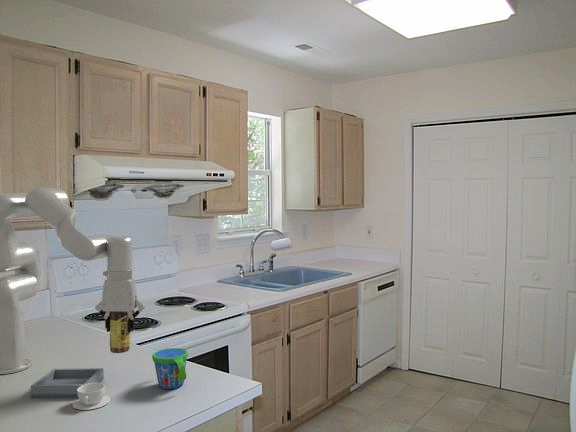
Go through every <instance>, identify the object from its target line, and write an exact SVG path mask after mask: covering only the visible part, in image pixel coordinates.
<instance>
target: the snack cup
mask: <svg viewBox="0 0 576 432" xmlns="http://www.w3.org/2000/svg"><path fill="white" fill-rule="evenodd" d="M188 357H189V352H188V350H187V349H184V348H182V347H181V348H179V347H170V348H169V347H168V348H163V349H160V350H157V351H155V352H154V353H152V355H151V360H152V362H154V363H153V364H154V368H155V375H156V379H157V383H158V387H159V388H161V389H163V390H174V389H178V388H180V387H182V386H183V385H184V382H185V380H186V378H187V371H186V367H187V366H186V365H187V359H188Z"/></svg>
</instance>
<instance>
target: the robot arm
mask: <svg viewBox="0 0 576 432" xmlns="http://www.w3.org/2000/svg"><path fill="white" fill-rule="evenodd" d="M69 201H70V200H69V197H68V194H67V193H66V192H65V190H63V189H62V188H58V187H36V188H33V189H30V191H28V192H2V193H0V273H7V272H14V274H9V275H4V276H0V375H9V374H14V373H18V372H21V371H24V370H26V369H28V368H30V367H31V366H32V361H31V360H30V359H27V358H26V357H27V356H26V355H27V353H26V331H25V328H26V326H25V314H24V311H23V309H22V307H21V305H20V304H19V302H21V301H25V300H29V299H31V298H33V297H35V296H36V295H37V294H38V293H39V291H40V286H41V281H40V270H39V258H38V254H37V251H36V249H35V248H34V246H33V245H32V244H30V243H28V242H26V241H17V235H16V234H17V232H16V229H15V227H14V225H13V223H12V222H11V221H10V220H9V219H13V218H14V219H16V218H30V217H31V218H32V217H39V218H40V219H41V220H42V221H44V222H45V223H46V224H48V225H49V226H50V227H51V228H52V229H54V230H55V232H56V236H57V239H58V241H59V243H60V244H61V246H62V248H64V249H65V250H67V252H69V253H70V254H71V255H72V256H74V257H76V258H77V259H79V260H81V261H84V262H86V261H87V262H89V261H95V260H98V259H104V258H106V260H107V263H106V265H107V269H106V271H105V270H103V272H102V276H103V277H104V276H105V277H106V279H104V282H103V287H102V293H101V294H102V297H101V301H100V302H99V303H97V304H96V305H95V306H94V309H95V310H96V311H97V312H98V313H99V314H100V315H101V316H102V317H103V319H104V323H105V326H104V327H105V329H106V332H107V333H110V312H127V313H128V315H129V320H128V332H130V333H132V331H134V330H135V327H136V321H135V320H136V317H138V315H139V314H140V313H141V312H142V311H144V310H145V309H146V307H145V305H144V304H143V303H142V302H141V301H140V300H139V299H138V293H137V286H136V281H135V278H133V240H132V238H131V237H130V236H123V235H122V236H120V235H119V236H118V235H117V236H113V235H110V234H97V235H96V234H94V235H89V236H86V234H84V233H83V232H81V231H80V230H79V229H77V227H76V226H75V225H74V224H75V223H76V221H77V218H78V213H77V212H76V210H75V209H74V208H72V207H71V206H70V205H69V203H70V202H69ZM136 308H137V310H136V311H135V309H136Z"/></svg>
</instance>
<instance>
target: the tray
mask: <svg viewBox="0 0 576 432" xmlns="http://www.w3.org/2000/svg"><path fill="white" fill-rule="evenodd" d="M104 373H105V372H104V368H103V367H94V368H89V367H87V368H86V367H85V368H84V367H83V368H79V367H78V368H52V369H51V370H50V371H49V372H46V374H45V375H43V376H42V377H40V378H39V379H38V380H36V381H35V382H33V384H31V385H30V397H31V398H33V399H39V398H40V399H42V398H43V399H46V398H47V399H48V398H78V393H77V389H78V388H79V387H80V386H82V385H85V384H88V383H102V381H104V379H105V378H104V377H105V376H104Z"/></svg>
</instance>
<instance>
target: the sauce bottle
mask: <svg viewBox="0 0 576 432" xmlns="http://www.w3.org/2000/svg"><path fill="white" fill-rule="evenodd" d="M128 320H129V315H128V313H127V312H110V331H109V350H110V353H113V354H124V353H127V352H129V350H130V345H131V332H128Z"/></svg>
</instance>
